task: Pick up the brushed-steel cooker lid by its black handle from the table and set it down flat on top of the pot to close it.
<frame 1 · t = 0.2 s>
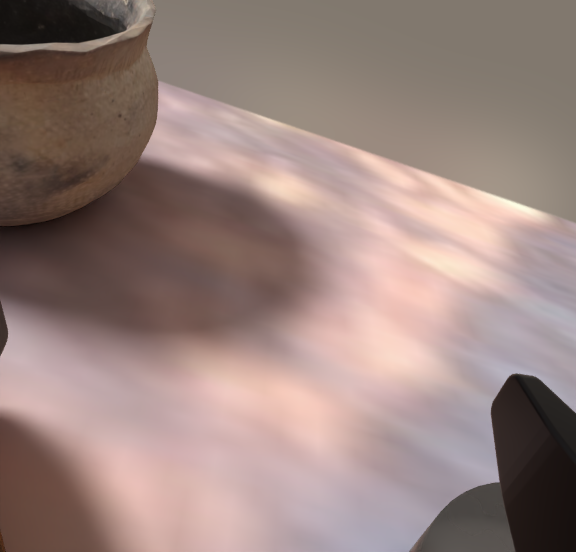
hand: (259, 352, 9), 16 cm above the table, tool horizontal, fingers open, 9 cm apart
ceramic bowl: (14, 195, 39), on the table
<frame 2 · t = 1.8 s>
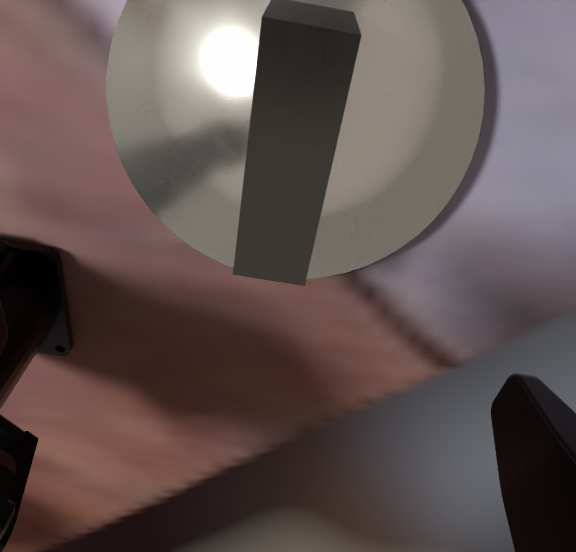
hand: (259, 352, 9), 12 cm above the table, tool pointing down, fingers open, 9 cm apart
lid: (293, 119, 18), on the table
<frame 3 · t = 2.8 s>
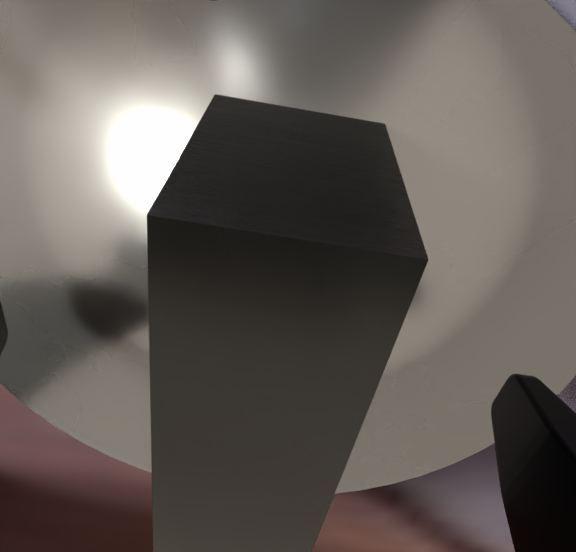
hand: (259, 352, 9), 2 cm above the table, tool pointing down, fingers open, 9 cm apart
lid: (270, 277, 10), on the table
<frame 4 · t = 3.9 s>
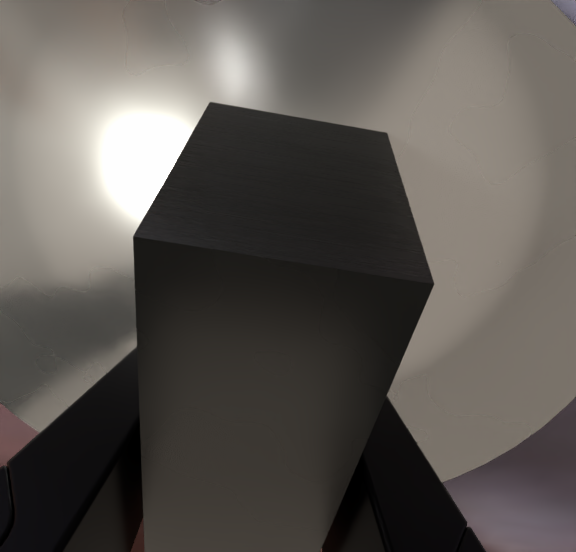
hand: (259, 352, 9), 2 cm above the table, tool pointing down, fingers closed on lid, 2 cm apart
lid: (268, 287, 10), on the table, touching gripper
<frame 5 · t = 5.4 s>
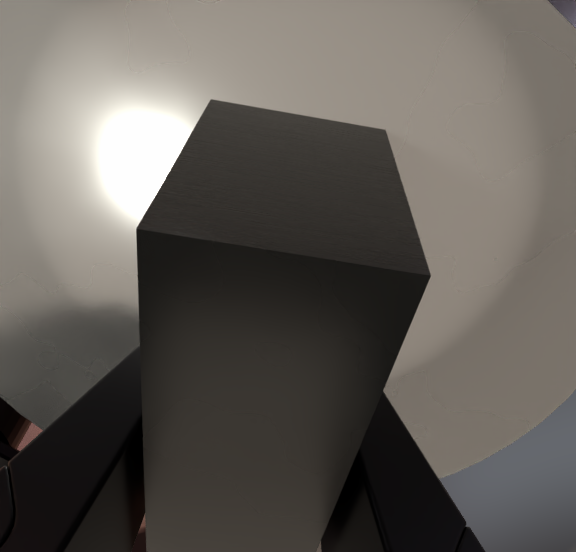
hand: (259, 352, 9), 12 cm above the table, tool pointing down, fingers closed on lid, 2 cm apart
lid: (268, 284, 10), point 10 cm above the table, touching gripper
when the fingers open (9 cm above the table, at t = 7.1 s): lid stays where it is, resting on pot.
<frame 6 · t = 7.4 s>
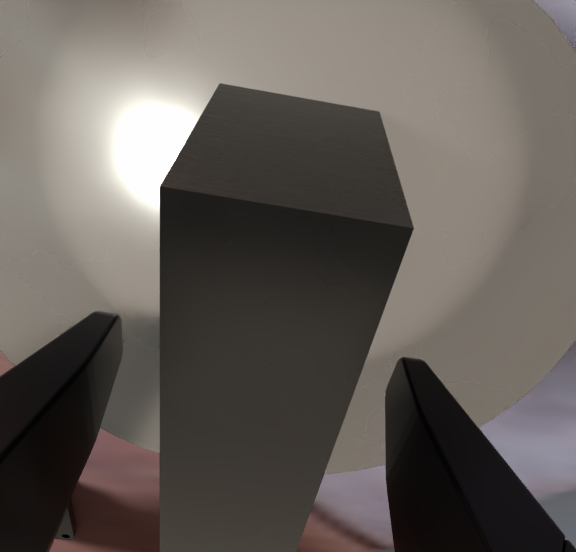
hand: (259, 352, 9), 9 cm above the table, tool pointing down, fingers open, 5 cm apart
lid: (271, 261, 11), point 6 cm above the table, touching pot
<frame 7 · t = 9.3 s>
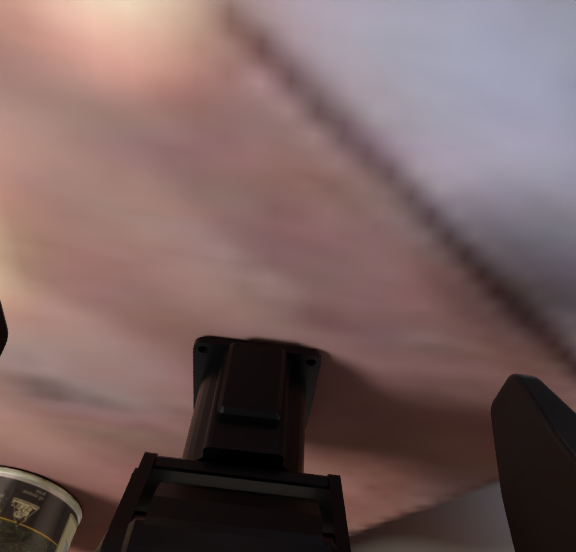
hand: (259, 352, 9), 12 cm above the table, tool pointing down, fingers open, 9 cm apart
coffee can: (15, 498, 37), on the table
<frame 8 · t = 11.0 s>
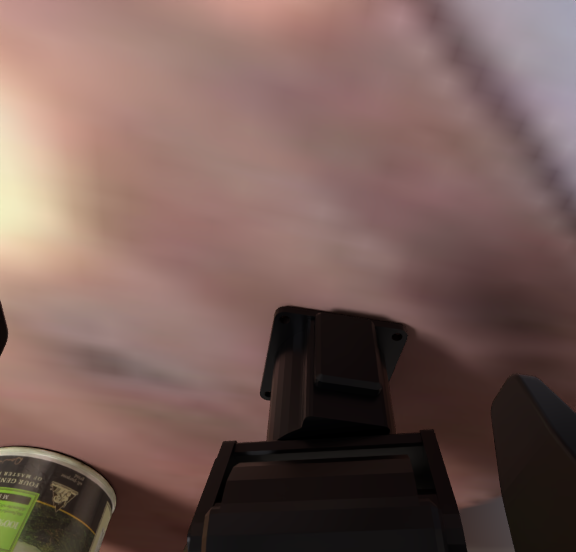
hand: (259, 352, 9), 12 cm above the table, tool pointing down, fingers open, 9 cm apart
coffee can: (45, 485, 35), on the table
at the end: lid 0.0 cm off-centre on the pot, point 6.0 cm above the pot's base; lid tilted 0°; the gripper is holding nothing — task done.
